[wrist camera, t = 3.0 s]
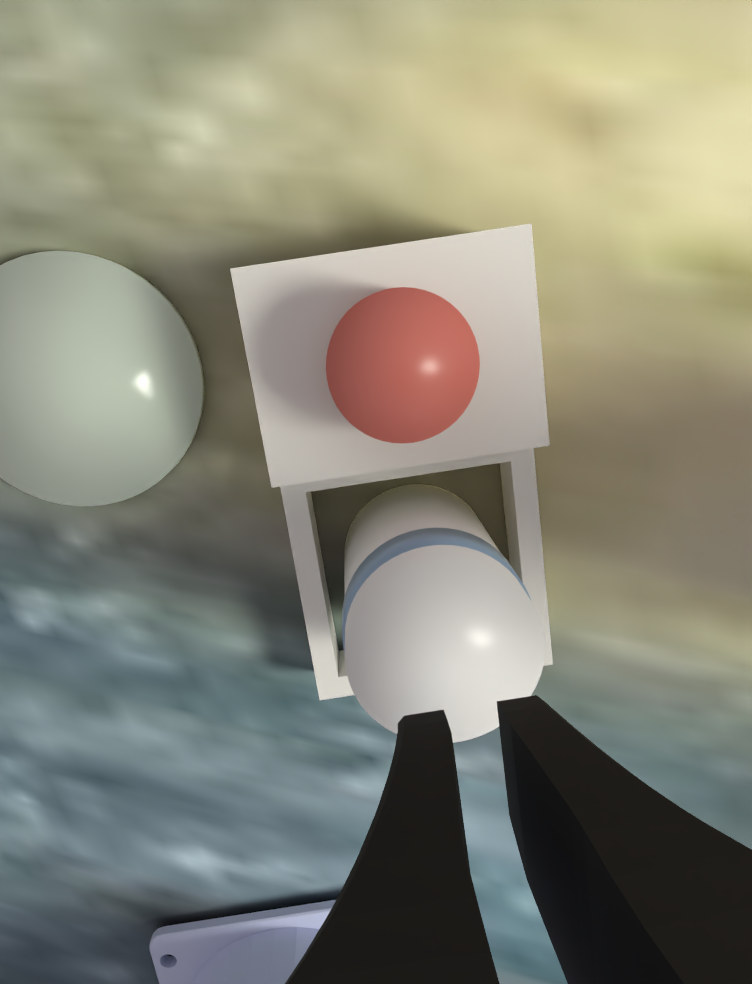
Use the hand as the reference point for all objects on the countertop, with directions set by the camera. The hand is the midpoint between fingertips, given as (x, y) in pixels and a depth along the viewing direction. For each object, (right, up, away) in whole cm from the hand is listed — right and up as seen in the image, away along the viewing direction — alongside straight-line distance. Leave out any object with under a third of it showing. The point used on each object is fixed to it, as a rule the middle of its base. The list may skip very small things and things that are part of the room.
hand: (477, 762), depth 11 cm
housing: (-1, +5, +8) cm, 10 cm away
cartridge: (0, +2, +9) cm, 9 cm away
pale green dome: (-9, +7, +7) cm, 14 cm away
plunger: (-1, +7, +7) cm, 10 cm away
